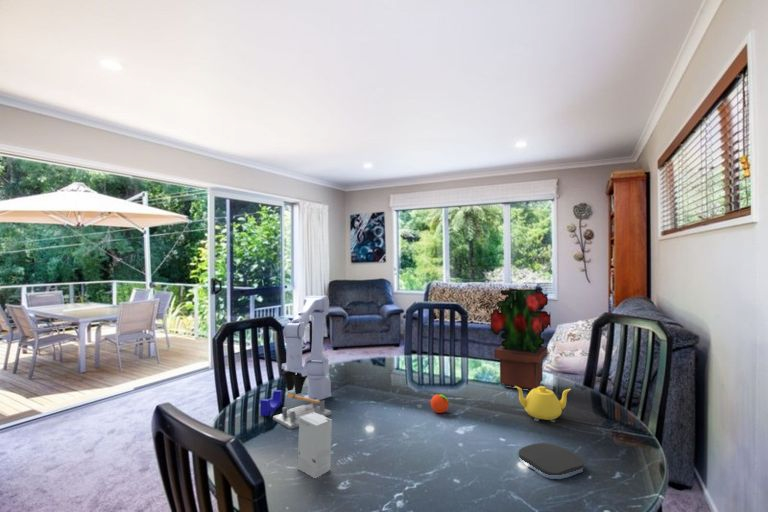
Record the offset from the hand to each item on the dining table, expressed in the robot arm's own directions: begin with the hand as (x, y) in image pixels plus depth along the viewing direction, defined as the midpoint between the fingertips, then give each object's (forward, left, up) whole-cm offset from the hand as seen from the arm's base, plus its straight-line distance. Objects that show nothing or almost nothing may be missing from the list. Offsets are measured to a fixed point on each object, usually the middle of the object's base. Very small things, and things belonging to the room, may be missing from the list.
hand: (294, 391), depth 144 cm
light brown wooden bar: (-5, 0, -5) cm, 7 cm away
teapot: (-65, +66, -11) cm, 94 cm away
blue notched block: (+1, -16, -11) cm, 19 cm away
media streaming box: (-33, +81, -11) cm, 88 cm away
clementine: (-42, +36, -11) cm, 57 cm away
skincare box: (+16, +34, -11) cm, 39 cm away
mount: (-3, 0, -10) cm, 11 cm away
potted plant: (-94, +45, -11) cm, 105 cm away
